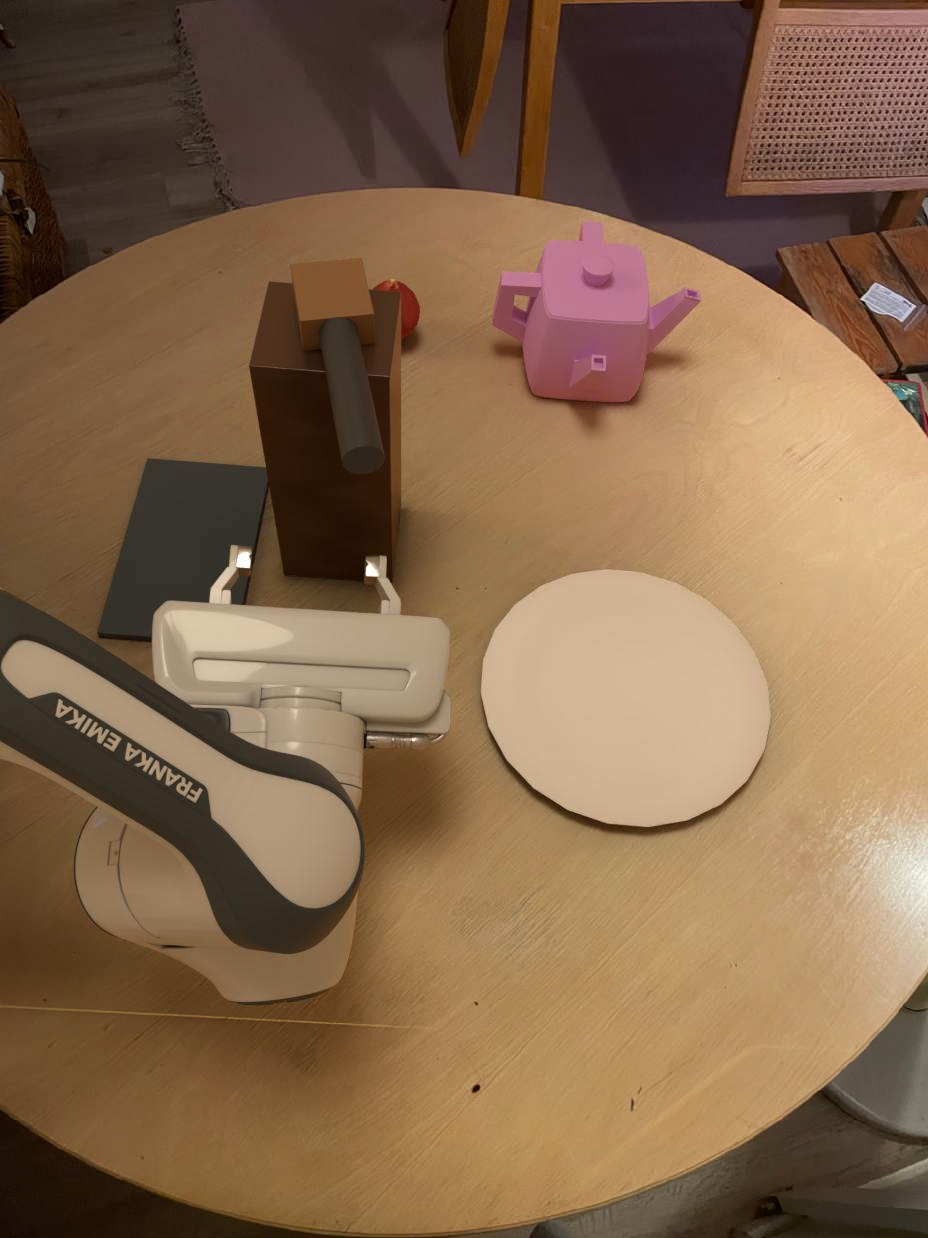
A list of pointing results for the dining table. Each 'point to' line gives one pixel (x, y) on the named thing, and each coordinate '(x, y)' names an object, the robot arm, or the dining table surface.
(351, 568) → the post
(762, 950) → the dining table surface
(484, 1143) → the dining table surface
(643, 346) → the teakettle
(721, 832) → the dining table surface
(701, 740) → the plate
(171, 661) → the robot arm
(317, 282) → the brown block with handle
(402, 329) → the onion
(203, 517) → the felt mat
